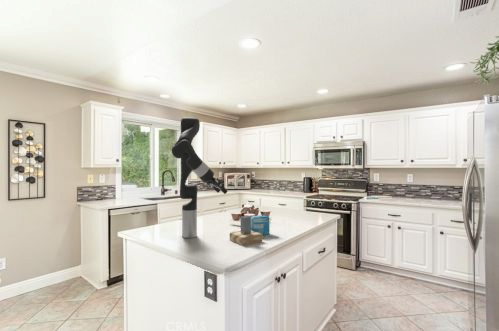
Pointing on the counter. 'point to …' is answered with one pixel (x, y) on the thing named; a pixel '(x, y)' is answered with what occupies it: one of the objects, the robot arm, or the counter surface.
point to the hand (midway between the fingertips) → (222, 192)
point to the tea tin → (245, 225)
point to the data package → (260, 224)
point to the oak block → (245, 238)
